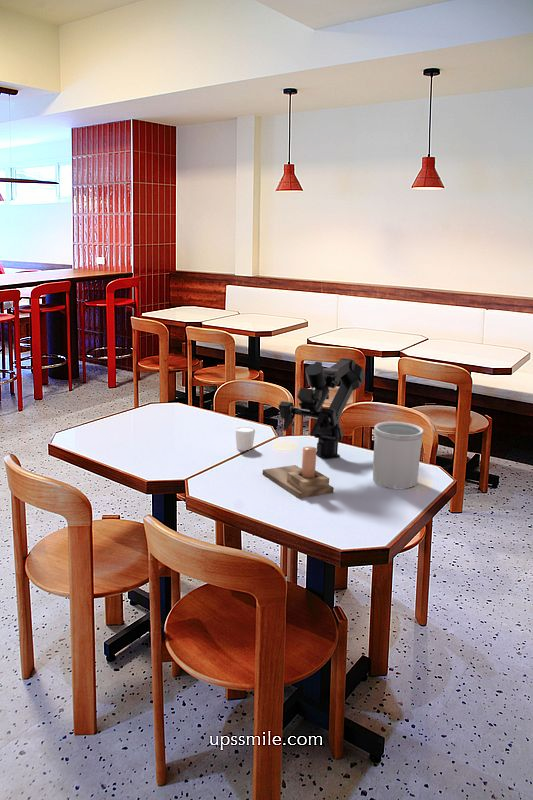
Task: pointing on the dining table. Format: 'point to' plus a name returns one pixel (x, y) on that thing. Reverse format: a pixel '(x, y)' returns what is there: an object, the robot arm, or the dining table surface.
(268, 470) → the wooden socket base
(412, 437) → the utensil holder
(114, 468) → the dining table surface
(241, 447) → the white cup
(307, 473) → the plug
